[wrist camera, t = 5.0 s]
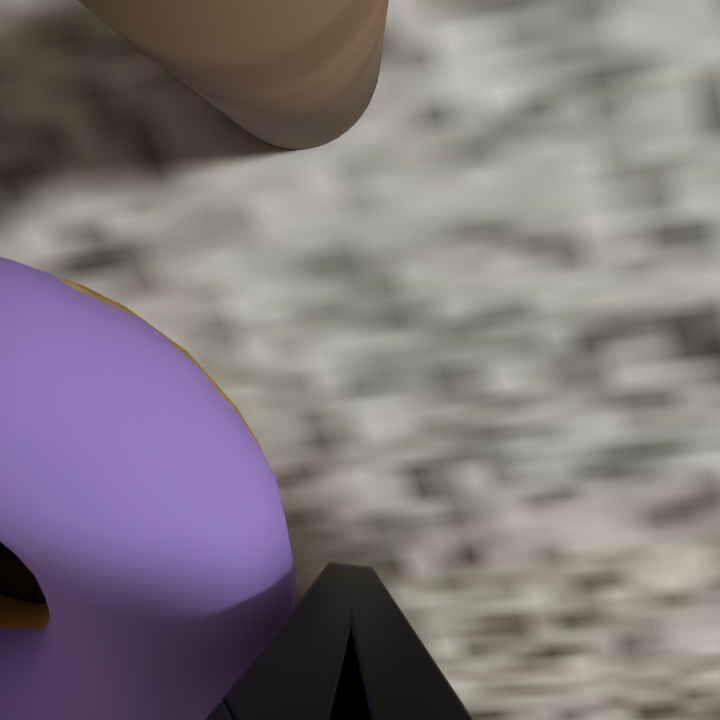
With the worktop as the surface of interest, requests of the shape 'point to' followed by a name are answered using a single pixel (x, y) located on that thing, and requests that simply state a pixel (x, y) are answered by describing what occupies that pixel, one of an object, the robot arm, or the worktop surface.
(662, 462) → the worktop surface
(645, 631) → the worktop surface
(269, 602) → the donut
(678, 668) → the worktop surface
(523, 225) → the worktop surface
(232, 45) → the gate post
